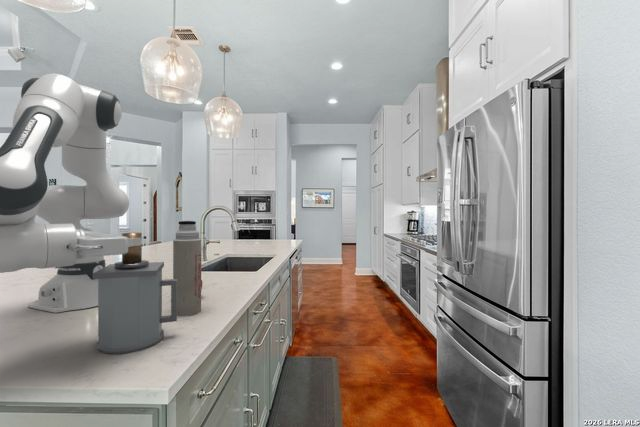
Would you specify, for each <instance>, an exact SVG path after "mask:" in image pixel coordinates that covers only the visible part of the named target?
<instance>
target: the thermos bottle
mask: <svg viewBox="0 0 640 427" xmlns="http://www.w3.org/2000/svg"><path fill="white" fill-rule="evenodd" d="M196 224H197V221H193V220H182V221H178V230H177V231H176V232H175V238H174V239H173V241H172V246H173V247H172V250H173V251H172V266H173V267H172V269H173V271H172V273H173V274H172V279H177V317H189V316H193V315H197V314H199V313H200V312H201V311H202V289H201V280H202V238H200V232H199V231H198V230H197V225H196Z"/></svg>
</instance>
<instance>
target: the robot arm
mask: <svg viewBox="0 0 640 427" xmlns="http://www.w3.org/2000/svg"><path fill="white" fill-rule="evenodd" d="M20 96H21V97H20V100H19V101H18V104H17V106H16V109H15V111H14V115H13V120H12V128H13V129H12V130H11V131H10V133H9V135H8V136H7V138H6V139H5V141H4V143H2V145H1V146H0V274H3V273H5V274H6V273H12V272H17V271H20V270H24V269H25V270H26V269H41V270H42V269H52V268H54V269H57V272H56V275H54V276H53V277H52V278H51V279H49V280H48V281H47V282H45V283H44V284H42V285H41V286H40V288H39V289H38V290H39V291H38V299H37V300H35V301H32V302H29V303H28V304H27V305H28V306H27V307H28V308H29V309H30V308H31V309H36V310H38V311H39V310H40V311H45V312H49V313H53V314H55V313H56V314H57V313H62V312H63V313H64V312H68V311H74V310H75V311H76V310H85V309H89V308H93V307H97V306H98V279H93V273H95V272H97V271H98V270H100V269H102V268H104V267H106V266H107V264H106V260H105V257H106V256H107V257H108V256H118V255H121V256H122V254H126V253H127V252H128V247H131V246H139V245H141V238H127V237H124V236H122V235H117V234H112V233H106V232H101V231H95V230H94V229H93V230H92V229H89V228H86V227H84V226H83V225H82V224H81V221H83V220H108V219H115V218H120V217H123V216H124V215H125V214H126V213H127V211H128V209H129V207H130V199H129V196H128V195H127V194H126V192H125V191H124V190H123V189H122V188H120V187H119V186H117V185H116V184H115V183H114V182H113V181H112V179H111V177H110V175H109V173H108V170H107V159H106V158H107V154H106V152H107V136H106V132H107V131H108V130H113V129H114V128H115V127H117V126H118V125H119V123H120V121H121V118H122V113H123V112H122V106H121V101H120V100H119V99H118V97H117V96H116V95H115V94H113V93H111V92H108V91H105V90H99V89H96V88H93V87H89V86H87V85H83V84H78V83H77V82H76V81H74V79H73V78H70V77H69V76H66V75H63V74H61V73H54V72H53V73H52V72H51V73H47V74H44V75H42V76H40V77H32V78H30V79H28V80H26V81H24V83H23V84H22V87H21V93H20ZM59 147H61V166H62V168H63V169H64V170H65V172H68V173H69V174H70V175H71V176H74V177H78V178H79V179H81V180H82V181H85V183H86V185H70V184H69V185H67V184H53V185H48V184H49V183H48V182H49V181H48V178H47V177H48V175H47V172H46V168H45V163H46V161H47V159H48V157H49V156H50V153H51V151H52V148H59ZM36 216H38V217H39V218H41V219H42V220H44V221H45V222H47V223H48V224H47V223H45V224H44V223H43V224H42V223H41V224H40V223H37V222H36Z"/></svg>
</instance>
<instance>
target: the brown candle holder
mask: <svg viewBox="0 0 640 427" xmlns="http://www.w3.org/2000/svg"><path fill="white" fill-rule="evenodd" d="M142 234H143V232H123V233H121V236H124V237H127V238H141V245H139V246H131V247H128V252H127V253H126V254H121V261H118V262H115V263H113V264H114V267H115V268H119V269H129V268H139V267H145V266H148V265H149V263H150V262H149V260H145V259H144V260H143V259H142V257H143V256H142V254H143V253H142V250H143V248H142V245H143V244H142V242H143V239H142V238H143V235H142Z"/></svg>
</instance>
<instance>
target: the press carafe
mask: <svg viewBox="0 0 640 427" xmlns="http://www.w3.org/2000/svg"><path fill="white" fill-rule="evenodd" d="M114 264H115V263H112V264H110V263H109V264H108V265H105V267H104V268H102V269H100V270H98V271H97V272H95V273H93V279H98V307H97V310H98V312H97V314H98V315H97V317H98V318H97V321H98V323H97V326H98V327H97V330H98V331H97V334H98V335H97V336H98V337H97V342H96V350H97V351H98V352H99V353H102V354H106V355H122V354H123V355H124V354H130V353H134V352H135V353H136V352H139V351H143V350H146V349H149V348H151V347H154V346H155V345H157V344H158V343H160V342H161V341H163V339H164V336H165V335H164V329H163V328H162V327H163V323H173V322H177V321H178V316H177V279H173V278H171V279H170V278H169V279H163V268H164V267H165V262H164V261H156V262H149V265H148V266H145V267H139V268H129V269H119V268H115V267H114ZM165 286H167V287H168V286H170V314H167V315H163V299H162V298H163V291H162V290H163V287H165Z"/></svg>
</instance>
